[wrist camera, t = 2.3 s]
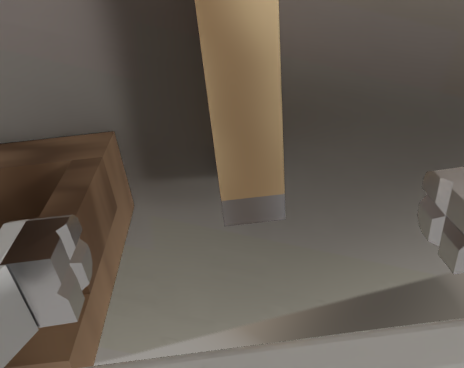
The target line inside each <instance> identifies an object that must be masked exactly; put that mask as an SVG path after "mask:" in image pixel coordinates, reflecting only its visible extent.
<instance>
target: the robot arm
mask: <svg viewBox="0 0 464 368" xmlns="http://www.w3.org/2000/svg"><path fill="white" fill-rule="evenodd" d="M422 189H423V190H424V191H425V193H426V194H427V195H426V196H425V197H424V198H423V199H422V200H421V202H420V203H419V207H418V214H417V216H418V222H419V227H420V229H421V232H422V234H423V235H424V237H425V238H426V239H427V241H428V242H430V243H433V244H435V245H437V246H439V250H438V255H439V256H440V258H441V259H442V260H443V261H444V263H445V264H446V265H447V267H448V268H449V269H450V270H451V272H452V273H453V274H459V273H464V166H463V167H456V168H450V169H443V170H436V171H429V172H426V174H425V176H424V178H423V183H422ZM81 232H82V227H81V224H80V222H79V219H78V218H77V217H76V216H75V215H65V216H55V217H45V218H35V219H25V220H18V221H10V222H7V223H4V224H3V226H2V227H1V229H0V368H4V367H5V366H6V365H7V364H8V363H9V361H10V360H11V359H12V358H13V357H14V356H15V355H16V354H17V353H18V352H19V351H20V350H21V349H22V347H23V346H24V345H25V344H26V343H27V342H28V341H29V340H30V339H31V338H32V337H33V336H34V335H35V334H36V332H37V331H38V330H39V329H38V328H41V327H48V326H54V325H61V324H67V323H74V322H78V319H79V316H80V313H81V310H82V306H83V303H84V300H85V297H84V295H83V292H82V290H83V289H84V288H85V287H87V286H88V285H89V284H90V280H91V277H92V263H93V262H92V257H91V252H90V249H89V246H88V244H87V243H85V242H84V241H82V240H81V239H80V238H79V237H80V235H81ZM82 368H464V318H461V319H453V320H445V321H438V322H430V323H422V324H414V325H406V326H399V327H390V328H383V329H376V330H367V331H359V332H352V333H344V334H336V335H329V336H321V337H313V338H306V339H298V340H291V341H283V342H276V343H267V344H259V345H252V346H244V347H237V348H229V349H221V350H214V351H206V352H198V353H191V354H184V355H175V356H168V357H160V358H152V359H144V360H137V361H129V362H121V363H114V364H105V365H98V366H90V367H82Z"/></svg>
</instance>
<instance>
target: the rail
mask: <svg viewBox="0 0 464 368" xmlns="http://www.w3.org/2000/svg"><path fill="white" fill-rule="evenodd" d="M195 7H196V14H197V22H198V29H199V37H200V45H201V52H202V60H203V67H204V75H205V82H206V90H207V97H208V105H209V112H210V120H211V128H212V135H213V143H214V150H215V158H216V165H217V173H218V180H219V188H220V195H221V203H222V211H223V218H224V226H231V225H240V224H249V223H258V222H267V221H276V220H285V219H286V216H285V185H284V154H283V124H282V93H281V62H280V31H279V1H278V0H195Z"/></svg>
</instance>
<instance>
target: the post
mask: <svg viewBox="0 0 464 368" xmlns="http://www.w3.org/2000/svg"><path fill="white" fill-rule="evenodd" d="M133 209H134V203H133V199H132V195H131V192H130V188H129V184H128V180H127V177H126V173H125V169H124V166H123V162H122V158H121V155H120V151H119V147H118V144H117V140H116V136H115V132H114V131H112V132H103V133H94V134H85V135H76V136H68V137H59V138H50V139H41V140H32V141H23V142H14V143H5V144H0V229H1V227H2V226H3V224H4V223H7V222H10V221H18V220H25V219H35V218H45V217H55V216H65V215H75V216H76V217H77V218H78V219H79V222H80V224H81V227H82V232H81V235H80V237H79V238H80V239H81V240H82V241H84V242H85V243H87V244H88V246H89V249H90V252H91V257H92V262H93V263H92V277H91V280H90V284H89V285H88V286H87V287H85V288H84V289H83V290H82V292H83V295H84V297H85V300H84V303H83V306H82V310H81V313H80V316H79V319H78V322H74V323H67V324H61V325H54V326H48V327H41V328H38V329H39V330H38V331H37V332H36V334H35V335H34V336H33V337H32V338H31V339H30V340H29V341H28V342H27V343H26V344H25V345H24V346H23V347H22V349H21V350H20V351H19V352H18V353H17V354H16V355H15V356H14V357H13V358H12V359H11V360H10V361H9V363H8V364H7V365H6V366H5V367H4V368H82V367H90V366H93V365H94V361H95V357H96V354H97V350H98V346H99V342H100V338H101V334H102V330H103V326H104V322H105V318H106V315H107V311H108V307H109V303H110V299H111V295H112V291H113V287H114V283H115V279H116V276H117V272H118V268H119V264H120V260H121V256H122V252H123V248H124V244H125V241H126V237H127V233H128V229H129V225H130V221H131V217H132V213H133Z"/></svg>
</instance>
